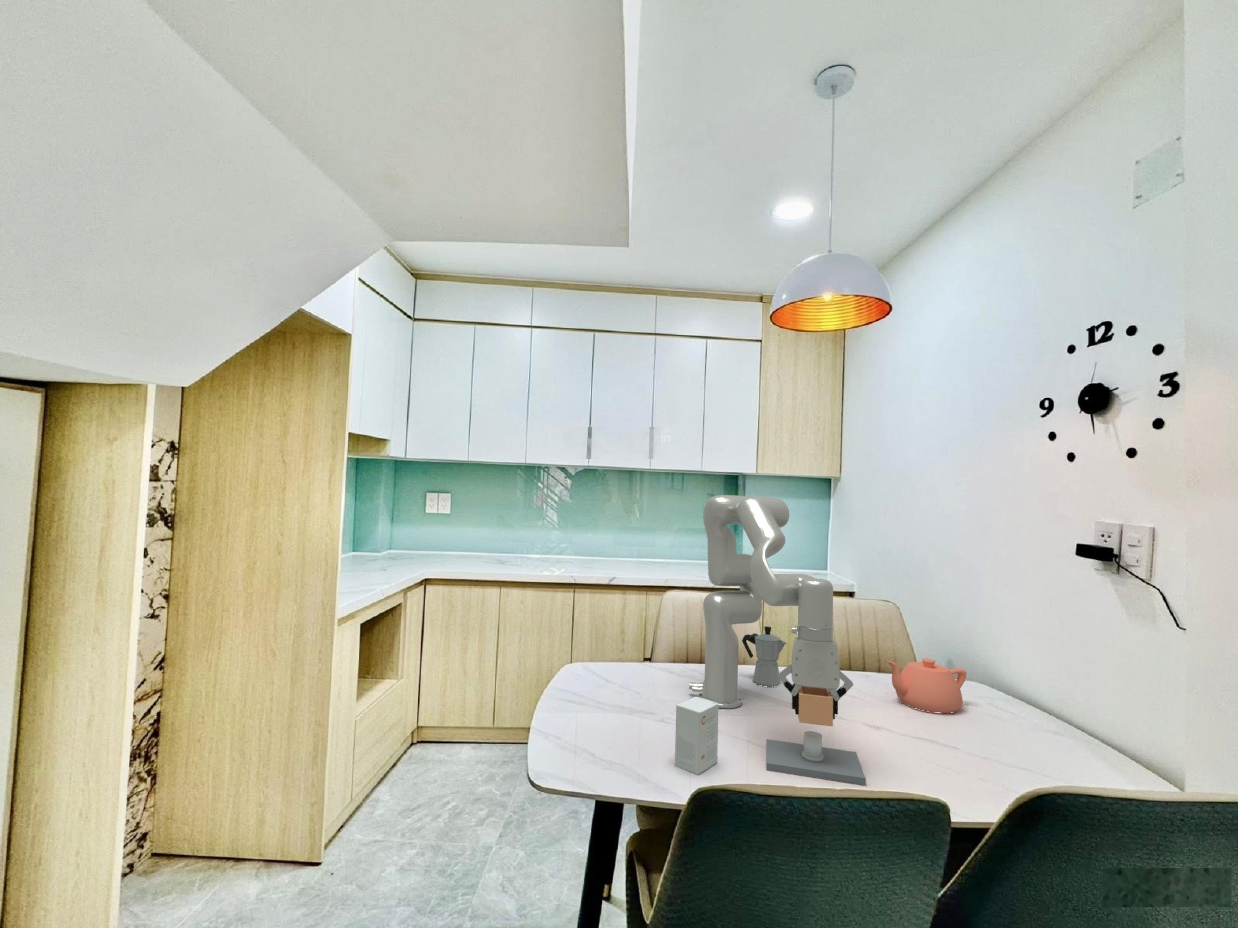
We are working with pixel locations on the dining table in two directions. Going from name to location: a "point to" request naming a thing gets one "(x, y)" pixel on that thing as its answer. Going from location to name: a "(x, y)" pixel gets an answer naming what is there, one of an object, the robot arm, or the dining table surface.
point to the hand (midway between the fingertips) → (814, 714)
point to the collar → (815, 706)
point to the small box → (696, 734)
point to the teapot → (928, 686)
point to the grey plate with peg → (814, 760)
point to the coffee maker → (765, 657)
